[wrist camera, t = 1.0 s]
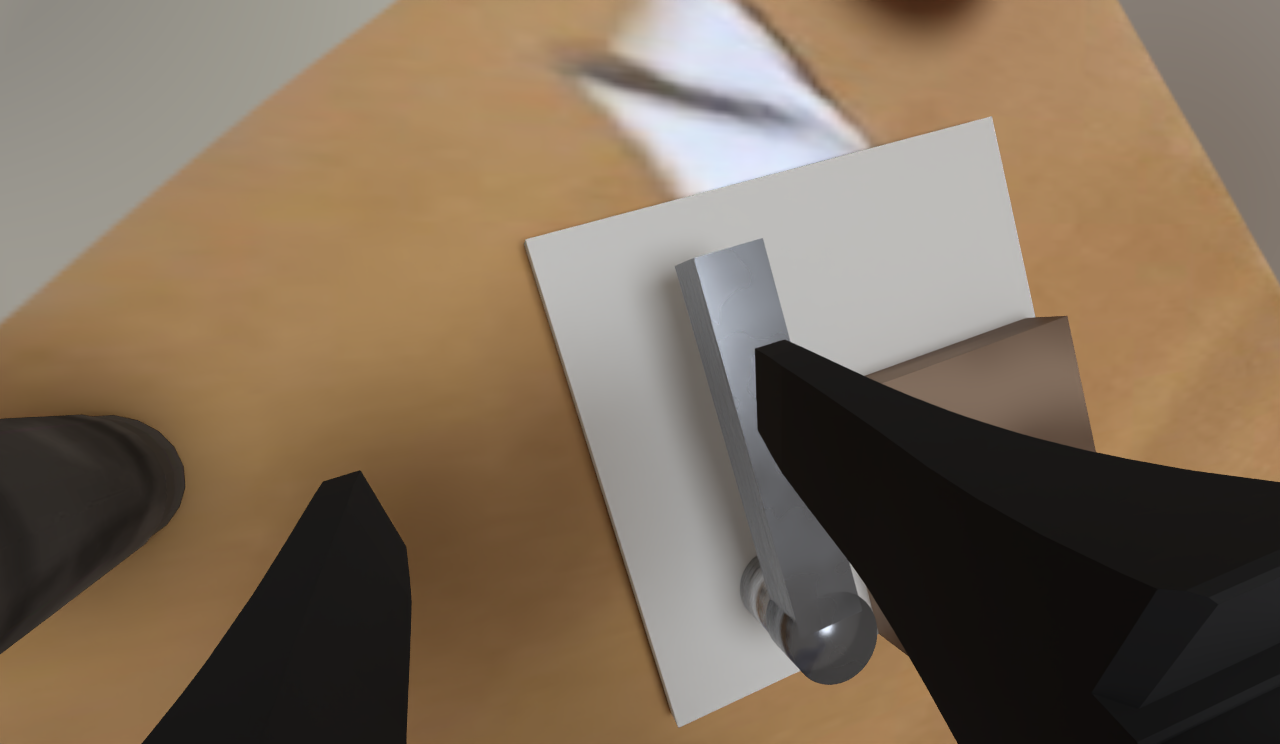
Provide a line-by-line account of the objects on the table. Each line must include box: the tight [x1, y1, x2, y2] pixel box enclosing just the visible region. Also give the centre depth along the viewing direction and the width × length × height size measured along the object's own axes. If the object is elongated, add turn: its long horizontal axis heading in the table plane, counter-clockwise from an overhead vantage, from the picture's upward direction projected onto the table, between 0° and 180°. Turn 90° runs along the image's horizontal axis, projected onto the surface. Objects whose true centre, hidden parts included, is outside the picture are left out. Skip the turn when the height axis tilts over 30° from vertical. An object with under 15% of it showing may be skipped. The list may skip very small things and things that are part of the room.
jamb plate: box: [524, 116, 1035, 728], centre depth 25 cm, size 20×21×1 cm
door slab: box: [866, 316, 1096, 655], centre depth 26 cm, size 11×11×2 cm
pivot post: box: [740, 556, 770, 633], centre depth 24 cm, size 3×3×2 cm
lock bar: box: [675, 238, 877, 685], centre depth 20 cm, size 15×3×2 cm, turn 17°
